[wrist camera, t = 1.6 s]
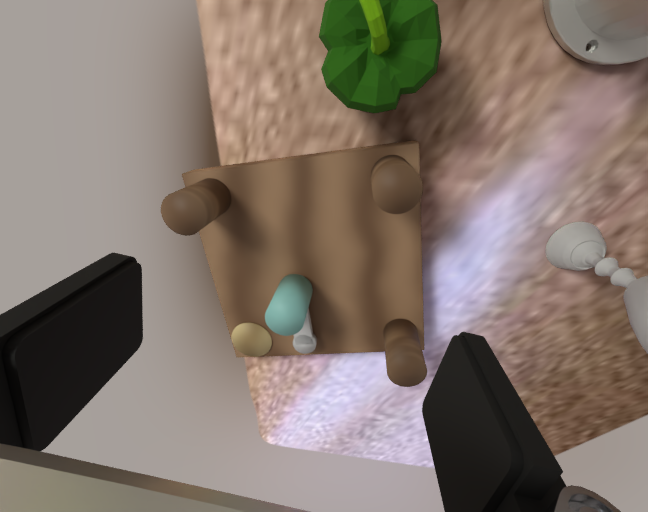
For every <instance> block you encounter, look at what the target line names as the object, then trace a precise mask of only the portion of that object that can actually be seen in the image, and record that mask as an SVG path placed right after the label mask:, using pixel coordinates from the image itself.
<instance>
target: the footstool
mask: <svg viewBox="0 0 648 512" xmlns="http://www.w3.org/2000/svg"><path fill="white" fill-rule="evenodd" d="M182 177H183V180H184V183H185V188H183V189H181V190H178V191H176V192H174V193H171V194H169V195H168V196H166V197H165V199H164V200H163V202H162V205H161V214H162V217H163V220H164V222H165V223H166V225H167V226H168V227H169V228H170V229H171V230H173V231H174V232H176V233H178V234H181V235H193V234H195V233H197V232H199V233H200V237H201V240H202V243H203V247H204V250H205V253H206V257H207V260H208V263H209V266H210V270H211V273H212V276H213V280H214V283H215V286H216V290H217V293H218V297H219V300H220V303H221V306H222V310H223V313H224V316H225V320H226V323H227V327H228V330H229V333H230V337H231V339H232V343H233V346H234V350H235V353H236V356H237V357H259V356H284V355H309V354H334V353H358V352H383V351H385V355H386V365H387V374H388V377H389V379H390V380H391V381H392V382H393V383H395V384H397V385H399V386H404V387H410V386H415V385H417V384H419V383H421V382H422V381H423V380H424V379H425V377H426V375H427V368H426V364H425V360H424V356H423V352H422V350H424V322H423V282H422V243H421V204H420V199H421V196H422V192H423V184H422V180H421V178H420V164H419V142H417V141H415V140H413V141H405V142H398V143H390V144H383V145H375V146H368V147H360V148H353V149H345V150H338V151H331V152H323V153H316V154H308V155H301V156H293V157H286V158H278V159H271V160H263V161H256V162H248V163H241V164H233V165H226V166H218V167H212V168H204V169H196V170H192V171H189V172H186V173H183V174H182ZM290 274H299V275H302V276H304V277H305V278H307V279H308V280H309V281H310V283H311V285H312V288H313V292H312V296H311V300H310V304H309V307H308V308H309V314H310V319H311V324H312V330H313V334H314V335H315V336H316V338H317V344H316V348H315V350H314V351H313V352H311V353H308V354H303V353H300V352H298V351H297V350H295V348H294V347H293V339H294V335H290V336H283V335H279V334H277V333H275V332H273V331H272V330H271V329H270V328H269V327H268V326H267V324H266V321H265V313H266V310H267V308H268V306H269V304H270V302H271V300H272V298H273V296H274V294H275V292H276V289H277V287H278V285H279V283H280V281H281V280H282V279H283V278H284V277H285V276H287V275H290Z"/></svg>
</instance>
